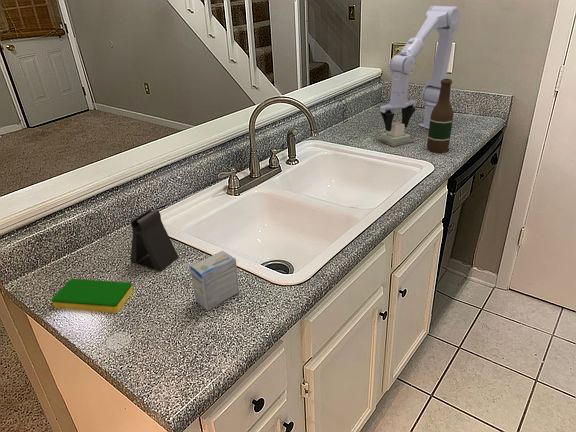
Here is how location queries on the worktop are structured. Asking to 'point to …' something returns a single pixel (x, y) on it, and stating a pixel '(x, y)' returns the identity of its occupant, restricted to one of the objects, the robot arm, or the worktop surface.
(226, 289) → the medicine box
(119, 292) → the dish sponge
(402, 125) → the plug
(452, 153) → the worktop surface
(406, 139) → the socket block
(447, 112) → the beer bottle
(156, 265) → the phone stand
